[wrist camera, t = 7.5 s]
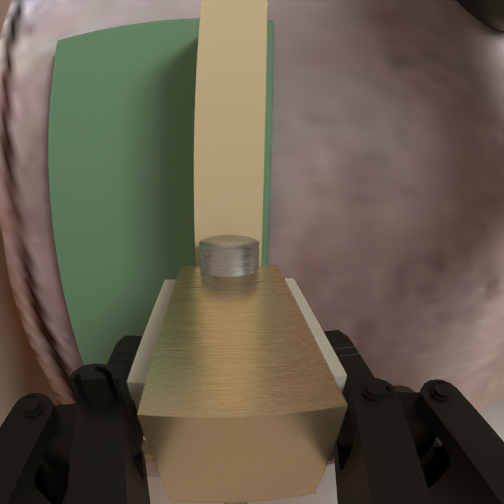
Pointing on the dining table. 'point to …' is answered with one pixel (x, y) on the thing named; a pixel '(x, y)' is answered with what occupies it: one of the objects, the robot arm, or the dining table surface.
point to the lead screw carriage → (238, 384)
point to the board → (155, 158)
